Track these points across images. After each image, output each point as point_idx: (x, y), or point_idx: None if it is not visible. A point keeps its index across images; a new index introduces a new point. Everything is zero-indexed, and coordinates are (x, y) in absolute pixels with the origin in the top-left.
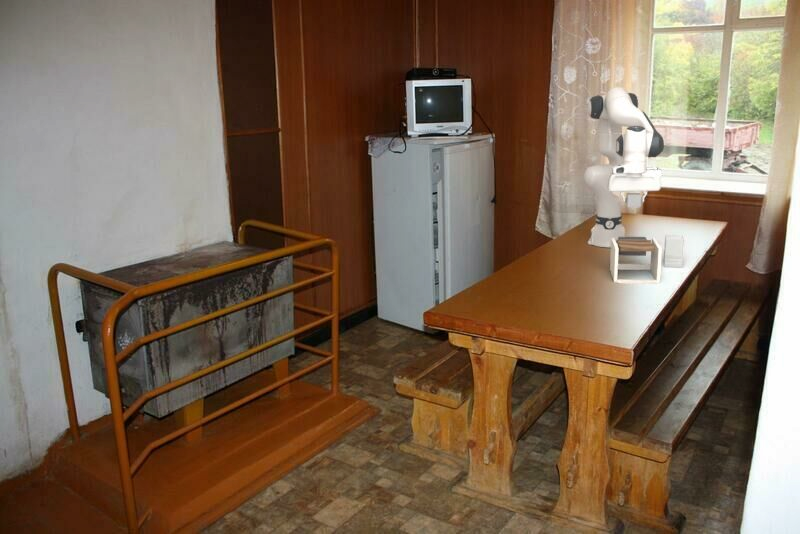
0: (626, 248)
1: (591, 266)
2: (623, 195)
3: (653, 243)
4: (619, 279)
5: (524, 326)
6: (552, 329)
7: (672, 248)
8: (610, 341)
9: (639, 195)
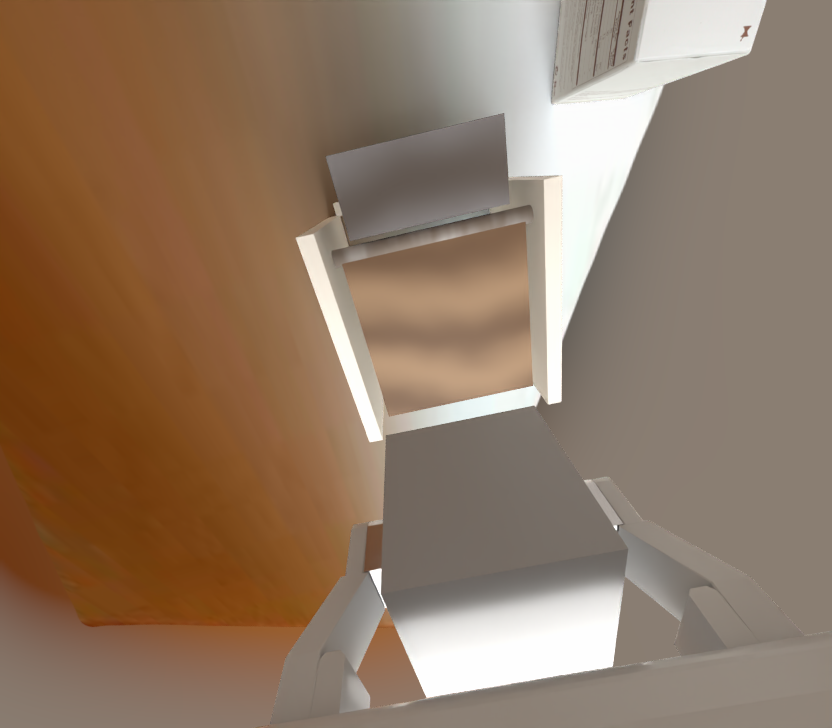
0: (412, 407)
1: (240, 187)
2: (356, 662)
3: (538, 251)
4: None
5: (277, 618)
6: None
7: (638, 79)
8: None
9: (586, 658)
